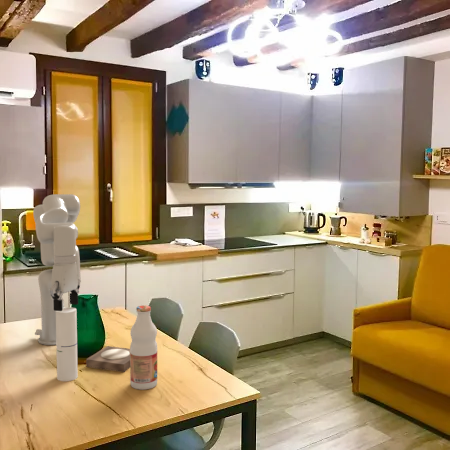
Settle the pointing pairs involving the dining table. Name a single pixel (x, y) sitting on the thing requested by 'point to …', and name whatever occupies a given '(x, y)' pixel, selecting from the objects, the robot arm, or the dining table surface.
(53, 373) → the dining table surface
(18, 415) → the dining table surface
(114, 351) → the walnut plinth
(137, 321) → the fruit juice
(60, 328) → the cylindrical container
